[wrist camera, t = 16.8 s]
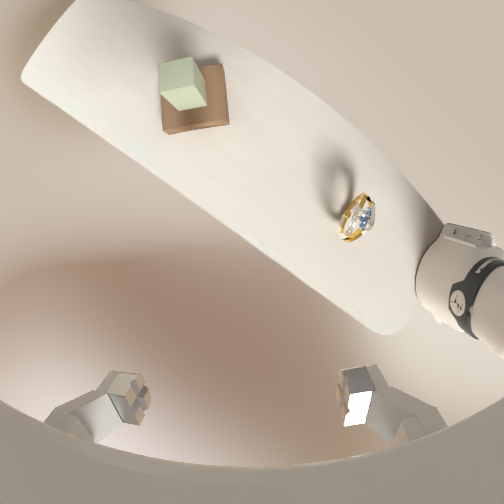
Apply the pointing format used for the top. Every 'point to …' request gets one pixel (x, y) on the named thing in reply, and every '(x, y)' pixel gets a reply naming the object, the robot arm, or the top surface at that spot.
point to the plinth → (203, 115)
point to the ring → (364, 218)
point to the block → (182, 84)
